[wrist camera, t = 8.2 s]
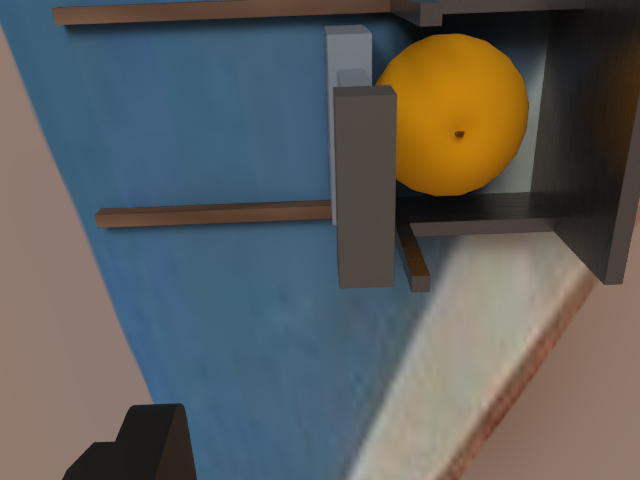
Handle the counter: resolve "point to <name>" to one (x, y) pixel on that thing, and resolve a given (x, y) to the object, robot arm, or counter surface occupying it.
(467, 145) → the orange
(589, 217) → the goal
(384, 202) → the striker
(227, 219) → the rails
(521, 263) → the counter surface
